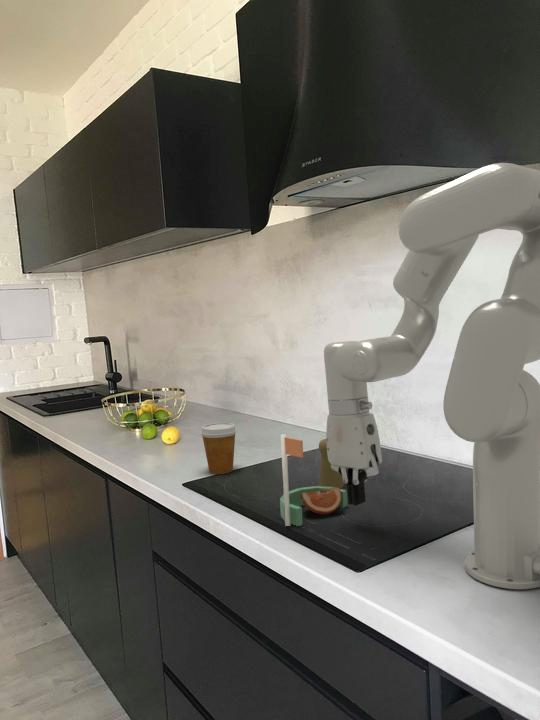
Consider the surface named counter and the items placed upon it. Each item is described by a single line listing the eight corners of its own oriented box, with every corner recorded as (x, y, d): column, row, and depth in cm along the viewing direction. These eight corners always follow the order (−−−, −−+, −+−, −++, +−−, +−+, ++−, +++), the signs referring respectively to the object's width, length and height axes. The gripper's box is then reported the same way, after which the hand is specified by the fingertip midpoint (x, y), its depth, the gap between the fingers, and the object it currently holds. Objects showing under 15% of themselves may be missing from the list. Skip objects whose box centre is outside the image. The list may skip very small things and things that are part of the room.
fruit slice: (306, 521, 116) (305, 496, 116) (296, 510, 123) (295, 487, 122) (346, 515, 118) (345, 491, 118) (334, 504, 125) (333, 482, 124)
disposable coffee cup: (232, 464, 161) (230, 420, 160) (243, 472, 152) (241, 427, 151) (199, 469, 158) (196, 425, 157) (208, 478, 149) (205, 431, 148)
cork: (349, 484, 138) (347, 438, 137) (334, 490, 134) (332, 443, 133) (328, 479, 142) (326, 435, 141) (313, 486, 138) (311, 440, 137)
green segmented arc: (358, 510, 120) (355, 423, 119) (304, 533, 110) (299, 438, 108) (315, 497, 130) (312, 417, 128) (261, 517, 119) (256, 430, 117)
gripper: (393, 405, 107) (401, 504, 108) (332, 403, 118) (340, 492, 119) (367, 412, 102) (376, 515, 103) (306, 408, 113) (314, 502, 114)
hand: (357, 502), depth 111 cm, fingers closed
